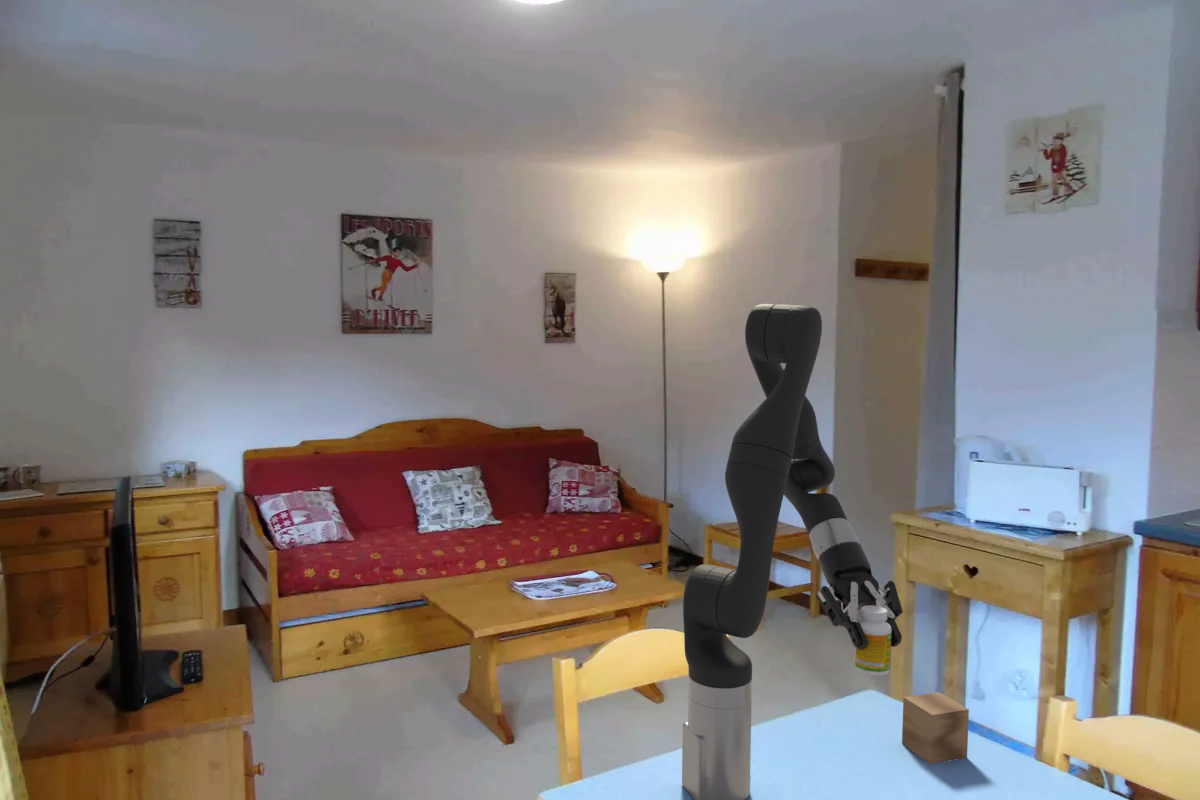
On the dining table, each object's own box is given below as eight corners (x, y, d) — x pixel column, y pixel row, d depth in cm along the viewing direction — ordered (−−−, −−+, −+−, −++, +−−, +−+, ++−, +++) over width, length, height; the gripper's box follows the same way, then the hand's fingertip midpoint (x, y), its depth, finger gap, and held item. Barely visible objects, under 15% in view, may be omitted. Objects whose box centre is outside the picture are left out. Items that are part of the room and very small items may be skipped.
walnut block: (930, 764, 133) (932, 714, 132) (902, 744, 139) (903, 697, 139) (967, 758, 135) (968, 709, 134) (937, 738, 141) (938, 692, 141)
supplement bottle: (892, 677, 129) (894, 615, 129) (855, 674, 130) (858, 612, 130) (887, 664, 135) (889, 605, 134) (852, 661, 136) (854, 602, 135)
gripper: (810, 542, 136) (851, 639, 126) (885, 537, 141) (931, 631, 130) (792, 566, 142) (830, 661, 131) (865, 561, 146) (907, 652, 135)
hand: (880, 645), depth 131 cm, fingers closed on supplement bottle, 5 cm apart
